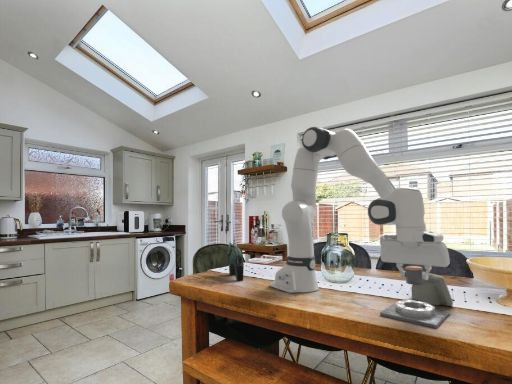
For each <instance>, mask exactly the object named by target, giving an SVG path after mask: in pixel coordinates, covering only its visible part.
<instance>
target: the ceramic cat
mask: <svg viewBox="0 0 512 384" xmlns="http://www.w3.org/2000/svg"><path fill="white" fill-rule="evenodd" d="M235 242H236V240H235V239H233V243H232V242H229V243H228V245H227V252H226V253H227V256H228V257H229V261H228V274H229V276H235V279H236V281H237V282H243V281H244V271H245V270H244V266H245V265H244V264H245V263H244V258H243V257H244V255H243V252H242V251H241V248H239V247H238V245H237V243H235Z"/></svg>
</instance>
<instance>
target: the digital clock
mask: <svg viewBox="0 0 512 384" xmlns="http://www.w3.org/2000/svg"><path fill="white" fill-rule="evenodd" d="M425 272H426V271H423V273H425ZM423 282H424V284H422V285H412V286H411V299H412V300H414V301H417V300H418V301H419V302H425V303H428V304H430V305H432V306H437V305H444V306H447V307H452V306H454V302H453V298H452V296H451V292H450V290H449V288H448V284H447V282H446V280H445V277H444V276H441V275H438V274H434V273H430V272H429V273H428V280H424V279H423Z"/></svg>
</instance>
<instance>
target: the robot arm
mask: <svg viewBox="0 0 512 384" xmlns="http://www.w3.org/2000/svg"><path fill="white" fill-rule="evenodd" d="M301 144H302V146H300V147H299V148H298V150H297V152H296V154H295V157H294V163H293V168H292V175H291V184H290V185H291V186H290V187H291V191H292V200H291V201H290V202H288V203H287V202H286V204H285V205H284V206H283V207H282V209H281V217H282V219H283V221H284V224H285V228H286V233H287V239H288V256H287V257H286V256H285V258H284V261H286V262H285V264H284V265H283V266H282V267H281V268H279V270H277V271H276V272H275V276H274V281H272V282H270V284H269V287H272V288H275V289H277V290H281V291H284V292H285V293H286V292H287V293H290V294H292V293H311V292H315V291H318V290H319V289H320V287H319V283H318V281H317V280H318V279H317V276H316V257H315V252H314V250H315V247H314V237H313V234H312V230H311V229H312V228H311V223H312V222H313V221H314V220H315V218H316V217H317V206H316V204H317V198H316V197H317V195H316V193H317V189H316V188H317V179H318V172H319V164H320V162H321V160H322V159H323V160H326V161H327V160H328V159H331V158H336V157H337V159H338V161H339V164H340V165H341V166H342V168H343V169H344V170H345V172H347V174H348V175H351V176H352V177H355V178H358V179H361V180H363V181H365V182H366V183H368V184H369V185H371V186H372V188H373V189H374V190H375V192H376V193H377V194H378V196H379V197H380V198H376V199H374V200H372V201H371V202H370V203H369V205H368V207H367V216H368V219H369V220H370V221H371V222H372V223H373V224H374V225H379V226H394V225H395V231H396V232H395V234H384V235H382V236H381V237H380V239H379V245H380V260H381V261H382V262H383V263H394V264H396V268H397V269H398V271H399V272H400V277H401V278H406V272H405V269H404V268H403V266H404V265H405V264H406V265H407V264H408V265H413V266H415V265H416V266H424V269H425V271H424V272H425V273H423V274H422V279H424V280H428V273H430V272H431V270H432V269H433V268H432V267H441V268H446V267H448V266H449V264H450V262H451V261H450V252H449V249H448V247H447V245H446V243H444V242H443V241H444V235H443V234H441V233H437V232H435V231H431V230H428V229H427V227H426V222H425V218H424V217H425V203H424V198H423V194H422V192H421V191H420V190H419V188H417V187H409V186H408V187H404V186H398V187H395V185H394V184H393V183H392V182H391V181H390V179H389V177H388V176H387V175H386V174H385V172H384V170H382V169H381V167H380V166H379V165H378V163H377V162H376V161H375V160H374V159H373V156H371V154H370V152H369V151H368V149H367V147H366V146H365V144H364V142H363V141H362V140H361V138H360V137H359V136H358V135H357V134H356V133H355V132H354V131H353V130H352V129H350V128H343V129H341V130H339V131H337V132H334V131H331V130H330V129H325V128H323V127H320V126H319V127H318V126H311V127H309V128H306V130H305V131H304V133H303V135H302V137H301Z"/></svg>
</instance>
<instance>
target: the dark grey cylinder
mask: <svg viewBox="0 0 512 384" xmlns="http://www.w3.org/2000/svg"><path fill="white" fill-rule="evenodd" d="M423 270H424V269H423V267H422V266H419V265H416V266H415V265H409V266H408V265H407V266H405V268H404V271H405V272H406V277H405V283H406V284H408V285H412V286H413V285H422V284H424V282H423V279H422V274H423V272H424V271H423Z"/></svg>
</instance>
